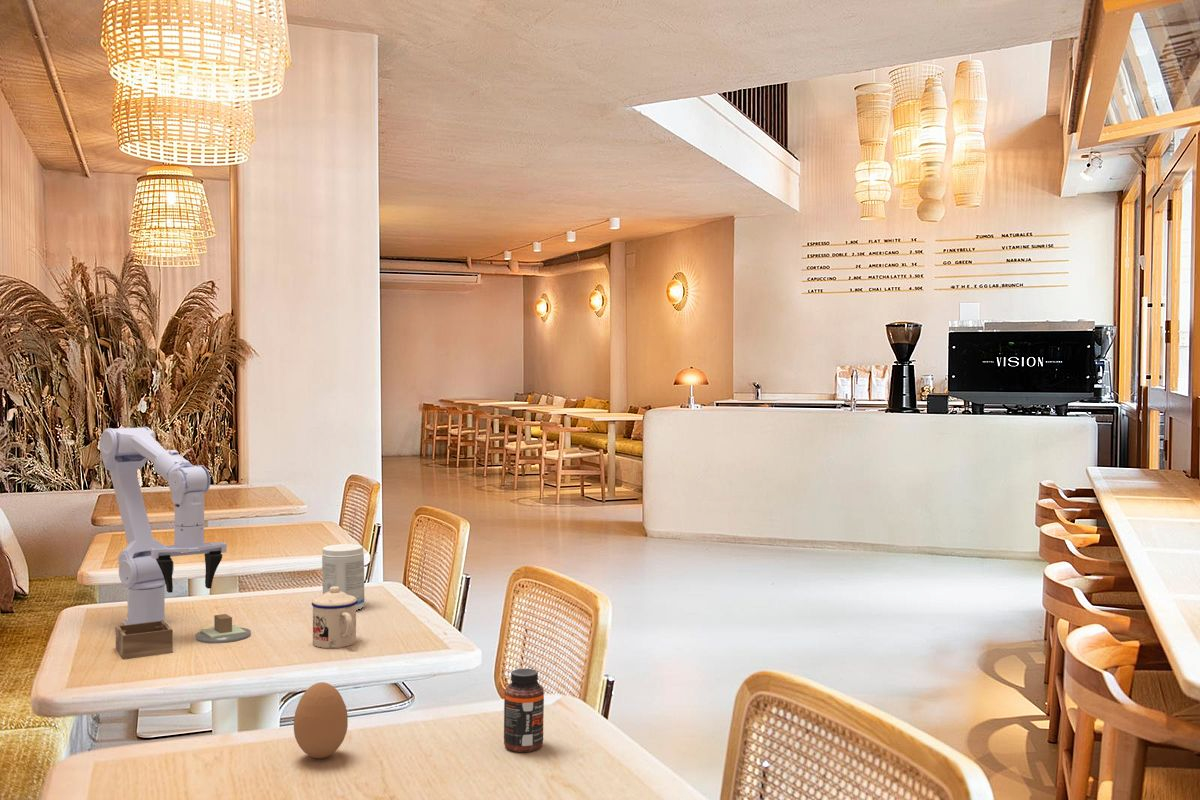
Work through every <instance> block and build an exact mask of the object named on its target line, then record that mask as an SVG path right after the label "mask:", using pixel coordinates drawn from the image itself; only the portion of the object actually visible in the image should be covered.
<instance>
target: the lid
mask: <svg viewBox="0 0 1200 800" xmlns="http://www.w3.org/2000/svg"><path fill="white" fill-rule="evenodd" d="M213 617H214V619H213V620H214V625H213V626H214V627H209V628H202V629H200V630H199V632H201V633H202V634H204V635H205V636H207V637H208V638H210V639H218V638H225V637H231V636H238V635H245V634H246V631H244V630H243V629H241V628H242V627H241V628H239V627H240V626H237V625H236V624H233V617H232V616H230V615H229V614H227V613H223V614H222V613H221V614H214V616H213Z"/></svg>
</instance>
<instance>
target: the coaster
mask: <svg viewBox="0 0 1200 800" xmlns="http://www.w3.org/2000/svg"><path fill="white" fill-rule="evenodd" d="M238 627H239V628H241V629H243V630H244V631H246V634H245V635H238V636H231V637H225V638H218V639H210V638H208V637H207V636H205V635H204V634H202V633H201V632H200V631H199V632H197V633H196V634H195V635H194V639H195V640H196V641H197V642H200V643H206V644H226V643H233V642H238V641H239V642H240V641H243V640H246V639H248V638H250V637H251V635H252V631H251V629H249V628H246V627H241V626H238Z"/></svg>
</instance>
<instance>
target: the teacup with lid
mask: <svg viewBox="0 0 1200 800" xmlns="http://www.w3.org/2000/svg"><path fill="white" fill-rule="evenodd" d="M356 604H357V599H356V598H355V597H354V596H351V595H347V594H346V593H344V592H342V591H340V588H339V587H337V586H334V587H330V592H326V593H325V594H323V593H322V595H321V596H316V597H315V598H313V600H312V602H311V606H312V645H313V646H315V647H316V646H317V648H320V647H321V648H320V649H341V648H340V647H342V648H346V647H345V646H347V647H350V646H352V645H354V644H355V643H356V641H357V611H356ZM349 645H350V646H349Z"/></svg>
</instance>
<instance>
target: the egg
mask: <svg viewBox="0 0 1200 800" xmlns="http://www.w3.org/2000/svg"><path fill="white" fill-rule="evenodd" d="M348 717H349V714H348V709H347V706H346V703H345V701H344V699H343V697H342V695H341V693H340V692H339V690H338V689H337V688H336V687H334V685H332V684H330V683H327V682H325V681H324V682H323V681H322V682H317V683H314V684H312V685H311V686H309V687H308V688H307V689H306V690H305V692H304V693H303V694H302V696H301V697H300V699H299V701H298V703H297V706H296V708H295V711H294V718H293V734H294V738H295V741H296V743H297V744H298V746H299V748H300V749H301V751H302V752H304V754H306V755H308V756H309V757H311V758H314V759H319V760H320V759H325V758H327V757H330V756H331V755H333V754H334V753H335V752H336V751H337V750H338V749H339V748H340V746H341V745H342V744H343V742H344V740H345V737H346V735H347V731H348V728H349V727H348V725H349V724H348V721H349V719H348Z"/></svg>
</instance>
